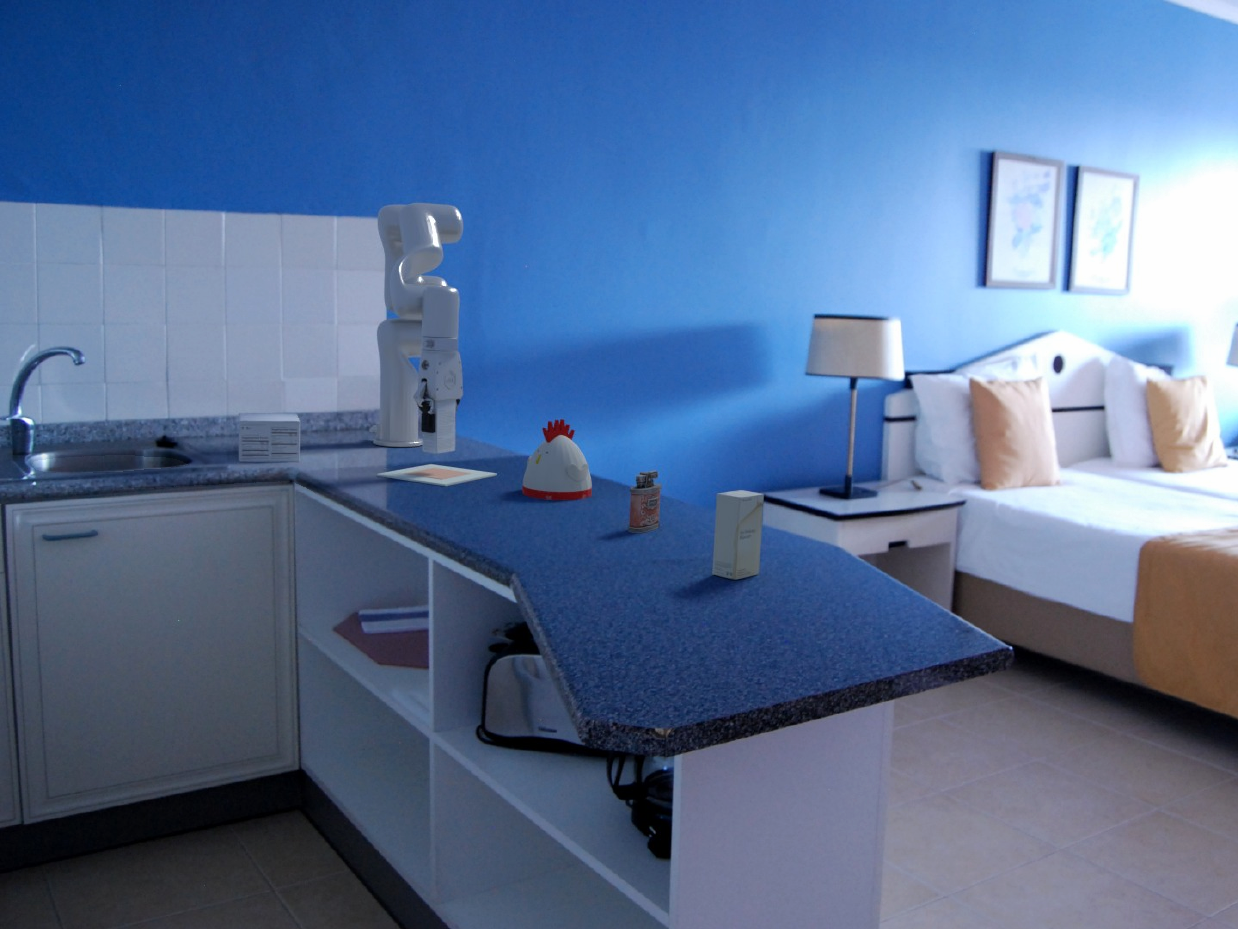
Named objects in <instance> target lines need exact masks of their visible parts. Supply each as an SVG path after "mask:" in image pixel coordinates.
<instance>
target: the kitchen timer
mask: <svg viewBox="0 0 1238 929" xmlns="http://www.w3.org/2000/svg"><path fill="white" fill-rule="evenodd" d="M541 428H542V429H541V430H542V433H543V435H544V440H543V441H542V442H541V443H540V444H539V445H538V446H537V447H536V449H534V452H533V453H532V455H529V457H528V458H527V461H526V469H525V472H524V474H523V479H522V487H521V493H522V494H523V495H524V496H526V497H529V498H534V499H541V500H550V501H575V500H583V499H587V498H590V497H591V496H592V490H593V484H592V478H591V474H590V469H589V463H588V462H587V460H586V457H585V455H584V454H583V452H582V450H581V448H579V446H578V445H577V443H575V442H574V441H573V438H574V435H575V431H576V430H575V429H570V428H571V424H568V423H566V424H565V419H562V418H561V419H560V420H559V419H554V423H553V421H552V420H548V421H547V428H546V427H541Z"/></svg>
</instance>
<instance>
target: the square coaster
mask: <svg viewBox="0 0 1238 929" xmlns="http://www.w3.org/2000/svg"><path fill="white" fill-rule="evenodd" d="M497 474H498V473H495V472H488V471H482V470H481V471H480V470H475V469H470V468H469V469H468V468H460V467H452V466H446V465H440V464H439V465H438V464H432V463H430V464H425V465H419V466H414V467H412V466H411V467H407V468H403V469H396V470H392V471H386V472H380V473H377V474H376V476H377V477H381V478H387V479H395V480H401V481H406V482H407V481H409V482H413V483H414V482H416V483H420V484H426V485H428V484H429V485H433V486H434V485H435V486H441V487H448V486H453V485H459V484H462V483H463V484H464V483H468V482H472V481H476V480H477V481H478V480H480V479H481V480H482V479H486V478H491V477H495V476H497Z"/></svg>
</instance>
